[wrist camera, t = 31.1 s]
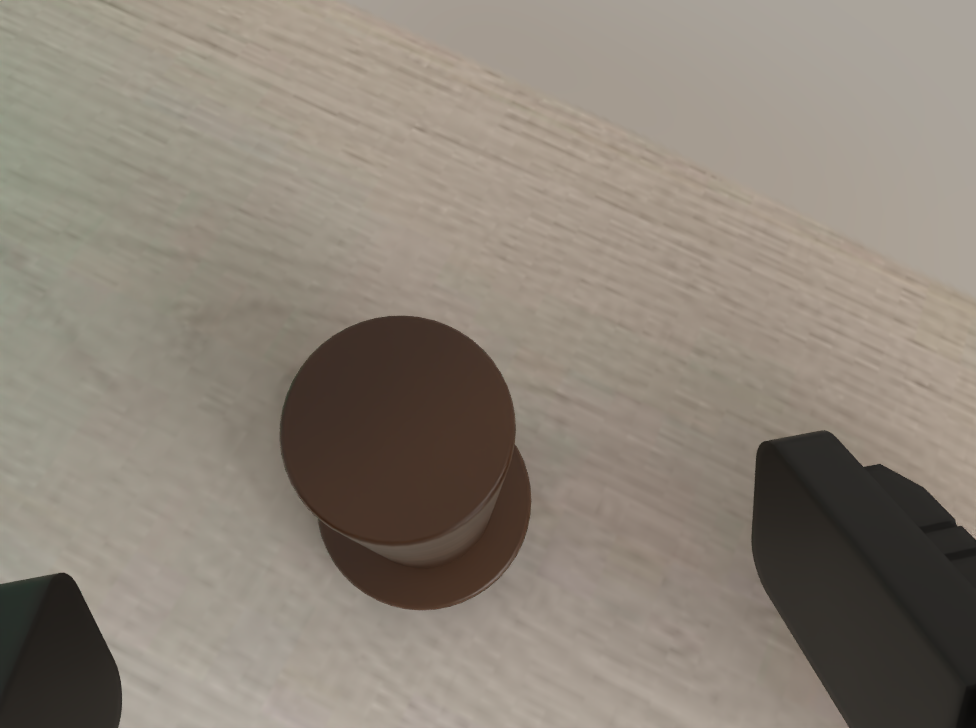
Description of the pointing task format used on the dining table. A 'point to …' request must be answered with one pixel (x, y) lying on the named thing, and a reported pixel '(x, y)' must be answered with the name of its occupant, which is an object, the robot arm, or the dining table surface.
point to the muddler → (408, 460)
